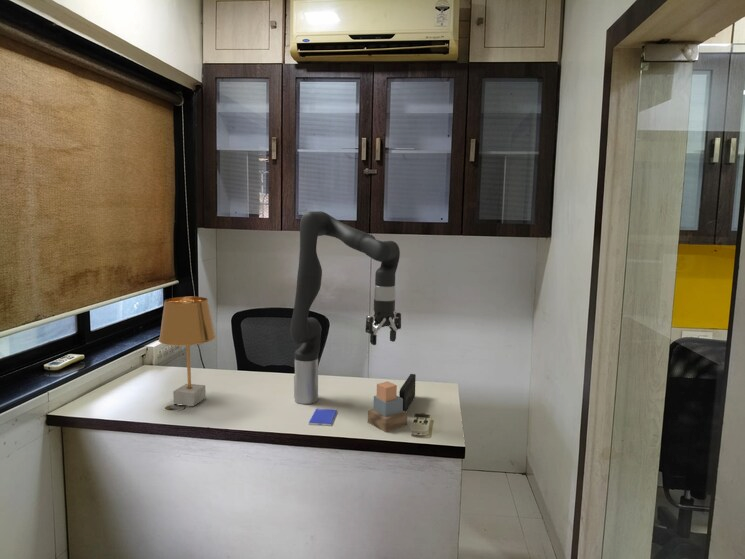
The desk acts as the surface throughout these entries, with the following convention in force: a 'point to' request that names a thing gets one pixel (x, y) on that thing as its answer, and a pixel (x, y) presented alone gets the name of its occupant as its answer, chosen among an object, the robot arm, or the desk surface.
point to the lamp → (187, 337)
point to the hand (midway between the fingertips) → (383, 342)
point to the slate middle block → (388, 406)
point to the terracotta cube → (386, 391)
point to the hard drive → (323, 417)
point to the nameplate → (408, 391)
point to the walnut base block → (387, 420)
